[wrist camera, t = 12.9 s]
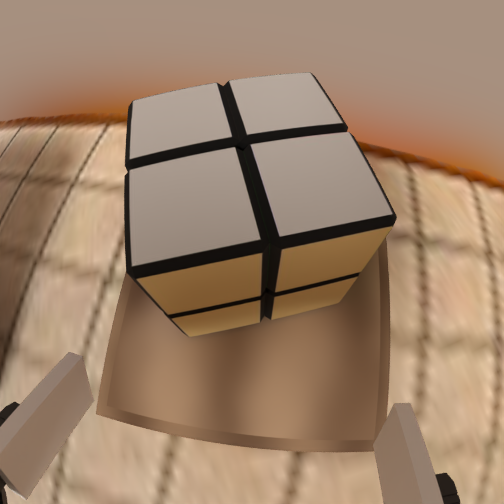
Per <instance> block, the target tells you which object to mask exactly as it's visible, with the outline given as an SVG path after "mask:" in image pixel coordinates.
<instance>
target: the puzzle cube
mask: <svg viewBox="0 0 504 504" xmlns="http://www.w3.org/2000/svg"><path fill="white" fill-rule="evenodd" d="M347 129H348V126H347V125H346V123H345V122H344V120H343V118H342V117H341V115H340V114H339V112H338V110H337V109H336V107H335V106H334V104H333V103H332V101H331V99H330V98H329V96H328V95H327V93H326V92H325V90H324V89H323V87H322V86H321V84H320V83H319V82H318V80H317V79H316V77H315V76H314V75H313V74H312V73H310V72H307V73H291V74H279V75H269V76H260V77H252V78H244V79H237V80H230V81H228V82H227V83H226V84H225V85H224V86H222V85H220V84H218V83H211V84H205V85H199V86H195V87H190V88H184V89H179V90H175V91H170V92H166V93H161V94H157V95H153V96H149V97H145V98H141V99H137V100H134V101H132V103H131V104H130V106H129V109H128V120H127V134H126V153H125V167H126V169H127V171H128V173H127V174H126V175H125V186H124V221H125V254H126V273H127V274H128V275H129V276H130V277H131V278H132V279H133V280H134V282H135V283H136V284H137V285H138V286H139V287H140V288H141V289H142V290H143V292H144V293H145V294H146V295H147V296H148V297H149V298H150V299H151V300H152V301H153V302H154V303H155V305H156V306H157V307H158V308H159V309H160V310H162V311H163V312H164V314H165V316H166V317H167V318H168V319H169V320H170V321H171V322H172V323H173V324H174V325H175V326H176V327H177V328H178V329H179V330H180V331H181V332H182V333H184V334H185V335H187V336H188V337H194V336H199V335H204V334H209V333H214V332H219V331H223V330H228V329H233V328H238V327H242V326H247V325H251V324H256V323H260V322H261V321H262V319H263V317H264V315H265V317H267V318H268V319H270V320H273V319H278V318H282V317H286V316H290V315H294V314H298V313H302V312H306V311H310V310H314V309H318V308H322V307H326V306H329V305H333V304H337V303H339V302H340V301H341V299H342V298H343V297H344V295H345V294H346V293H347V291H348V290H349V289H350V287H351V286H352V284H353V283H354V282H355V280H356V279H357V277H358V276H359V274H360V272H361V271H362V270H363V269H364V267H365V266H366V265H367V263H368V262H369V260H370V259H371V258H372V256H373V255H374V253H375V252H376V250H377V249H378V248H379V246H380V245H381V243H382V242H383V240H384V239H385V237H386V236H387V234H388V233H389V232H390V230H391V229H392V227H393V225H394V223H395V221H396V218H397V216H396V214H395V212H394V210H393V208H392V206H391V204H390V202H389V200H388V198H387V196H386V194H385V192H384V190H383V188H382V186H381V184H380V182H379V181H378V179H377V177H376V175H375V173H374V171H373V169H372V167H371V166H370V164H369V162H368V160H367V158H366V157H365V155H364V153H363V151H362V150H361V148H360V146H359V144H358V143H357V141H356V139H355V138H354V136H353V135H352V134H351V133H350V132H347Z"/></svg>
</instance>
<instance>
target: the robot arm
mask: <svg viewBox="0 0 504 504" xmlns="http://www.w3.org/2000/svg"><path fill="white" fill-rule="evenodd" d="M93 401H94V399H93V395H92V392H91V388H90V384H89V381H88V377H87V373H86V369H85V364H84V360H83V356H80V355H77V354H74V353H71V352H69V353H68V354H67V355H66V356H65V357H64V358H63V359H62V360H61V361H60V362H59V363H58V364H57V365H56V366H55V367H54V368H53V369H52V370H51V371H50V372H49V374H48V375H47V376H46V377H45V378H44V379H43V380H42V381H41V382H40V383H39V384H38V385H37V386H36V388H35V389H34V390H33V391H32V392H31V393H30V394H29V395H28V396H27V397H26V398H25V400H24V401H23V402H22V403H21V404H18V403H16V402H14V403H12V404H10V405H8V406H6V407H5V408H4V409H3V410H2V411H1V412H0V504H8V503H7V497H6V492H5V489H4V486H5V485H6V484H7V486H8V487H9V488H10V489H11V490H12V491H13V492H14V493H16V494H17V495H19V496H20V497H22V498H24V499H25V500H27V499H28V497H29V496H30V494H31V493H32V491H33V489H34V488H35V486H36V485H37V483H38V482H39V480H40V479H41V477H42V476H43V474H44V473H45V471H46V470H47V468H48V467H49V465H50V464H51V462H52V461H53V459H54V458H55V456H56V455H57V453H58V452H59V450H60V449H61V447H62V446H63V444H64V443H65V441H66V440H67V439H68V437H69V436H70V434H71V433H72V431H73V430H74V428H75V427H76V426H77V424H78V423H79V421H80V420H81V418H82V417H83V416H84V414H85V413H86V411H87V410H88V408H89V407H90V406H91V404H92V403H93ZM373 447H374V452H375V457H376V463H377V468H378V473H379V479H380V484H381V490H382V496H383V502H384V504H460V499H459V496H458V495H457V489H456V486H455V483H454V481H453V480H452V479H451V478H450V477H449V475H448V474H447V473H442V474H436V475H435V473H434V469H433V466H432V463H431V460H430V457H429V454H428V451H427V448H426V445H425V442H424V439H423V437H422V434H421V431H420V428H419V425H418V422H417V420H416V417H415V414H414V412H413V409H412V406H411V404H410V403H394V405H393V407H392V409H391V411H390V413H389V415H388V417H387V419H386V421H385V423H384V425H383V427H382V429H381V431H380V433H379V435H378V437H377V438H376V440H375V442H374V444H373Z"/></svg>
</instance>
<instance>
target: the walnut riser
mask: <svg viewBox="0 0 504 504" xmlns="http://www.w3.org/2000/svg"><path fill="white" fill-rule="evenodd" d="M389 369H390V294H389V272H388V257H387V243H386V237H385V239H384V240H383V242H382V243H381V245H380V246H379V248H378V249H377V250H376V252H375V253H374V255H373V256H372V258H371V259H370V260H369V262H368V263H367V265H366V266H365V267H364V269H363V270H362V271H361V272H360V274H359V276H358V277H357V279H356V280H355V282H354V283H353V284H352V286H351V287H350V289H349V290H348V291H347V293H346V294H345V295H344V297H343V298H342V299H341V301H340V302H339V303H337V304H333V305H329V306H326V307H322V308H318V309H314V310H310V311H306V312H302V313H298V314H294V315H290V316H286V317H282V318H278V319H273V320H270V319H268V318H267V317H265V315H264V317H263V319H262V321H261V322H260V323H256V324H251V325H247V326H242V327H238V328H233V329H228V330H223V331H219V332H214V333H209V334H204V335H199V336H194V337H188V336H187V335H185V334H184V333H182V332H181V331H180V330H179V329H178V328H177V327H176V326H175V325H174V324H173V323H172V322H171V321H170V320H169V319H168V318H167V317H166V316H165V314H164V312H163V311H162V310H160V309H159V308H158V307H157V306H156V305H155V303H154V302H153V301H152V300H151V299H150V298H149V297H148V296H147V295H146V294H145V293H144V292H143V290H142V289H141V288H140V287H139V286H138V285H137V284H136V283H135V282H134V280H133V279H132V278H131V277H130V276H129V275H128V274H127V273H126V274H125V277H124V281H123V285H122V289H121V292H120V296H119V300H118V304H117V308H116V313H115V317H114V321H113V325H112V330H111V334H110V339H109V344H108V348H107V353H106V358H105V363H104V369H103V374H102V379H101V385H100V391H99V397H98V404H97V410H96V414H98V415H101V416H104V417H107V418H110V419H114V420H117V421H120V422H124V423H127V424H131V425H135V426H138V427H142V428H146V429H150V430H154V431H158V432H163V433H167V434H172V435H176V436H181V437H186V438H191V439H197V440H202V441H208V442H214V443H220V444H227V445H235V446H242V447H251V448H260V449H271V450H284V451H302V452H369V451H374V447H373V444H374V442H375V440H376V438H377V437H378V435H379V433H380V431H381V429H382V427H383V425H384V423H385V421H386V418H387V406H388V390H389Z"/></svg>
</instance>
